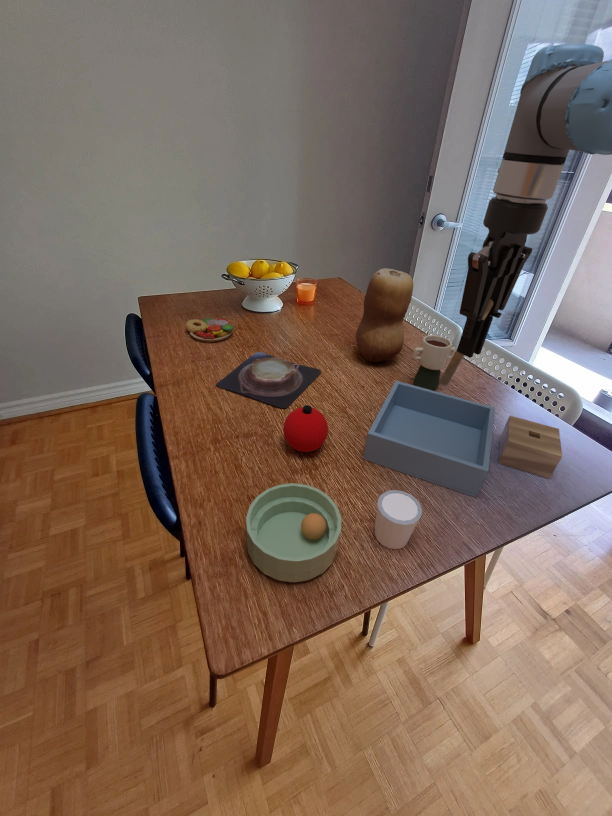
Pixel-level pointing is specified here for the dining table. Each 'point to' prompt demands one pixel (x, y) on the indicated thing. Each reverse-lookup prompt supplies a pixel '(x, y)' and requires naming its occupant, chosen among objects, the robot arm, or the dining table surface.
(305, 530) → the dough ball
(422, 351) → the character mug
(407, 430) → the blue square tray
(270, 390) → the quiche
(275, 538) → the bowl
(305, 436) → the ornament
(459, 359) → the stirring stick
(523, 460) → the utensil block
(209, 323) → the toy food set
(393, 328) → the butternut squash
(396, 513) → the white cup
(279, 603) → the dining table surface
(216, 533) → the dining table surface
